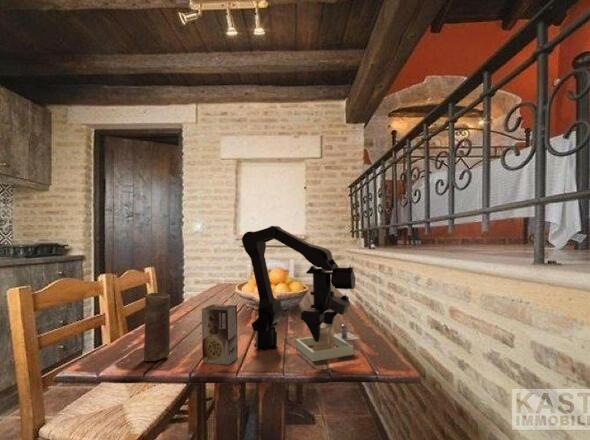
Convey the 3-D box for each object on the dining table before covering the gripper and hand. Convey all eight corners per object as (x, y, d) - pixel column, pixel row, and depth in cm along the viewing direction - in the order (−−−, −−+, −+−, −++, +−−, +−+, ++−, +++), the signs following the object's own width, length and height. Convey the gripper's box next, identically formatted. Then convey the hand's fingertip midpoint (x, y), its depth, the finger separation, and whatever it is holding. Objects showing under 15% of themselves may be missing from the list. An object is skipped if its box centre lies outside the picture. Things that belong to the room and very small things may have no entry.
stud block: (339, 344, 115) (339, 328, 115) (329, 337, 122) (328, 322, 122) (359, 341, 118) (359, 325, 118) (348, 334, 125) (347, 320, 125)
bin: (312, 364, 97) (312, 352, 97) (295, 349, 110) (295, 339, 110) (353, 357, 102) (353, 346, 102) (332, 344, 115) (332, 334, 115)
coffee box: (238, 357, 104) (238, 304, 105) (228, 365, 98) (228, 309, 99) (212, 354, 107) (212, 303, 107) (201, 362, 100) (201, 308, 101)
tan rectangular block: (327, 354, 102) (326, 328, 103) (312, 352, 105) (312, 326, 105) (333, 349, 107) (333, 324, 107) (319, 347, 109) (319, 322, 110)
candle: (162, 352, 109) (162, 291, 110) (174, 357, 105) (174, 293, 106) (139, 359, 104) (139, 294, 104) (151, 365, 99) (151, 296, 100)
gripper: (334, 294, 95) (335, 350, 94) (355, 285, 111) (357, 333, 110) (299, 292, 100) (300, 345, 99) (325, 283, 116) (326, 329, 116)
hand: (323, 337), depth 106 cm, fingers open, 9 cm apart
